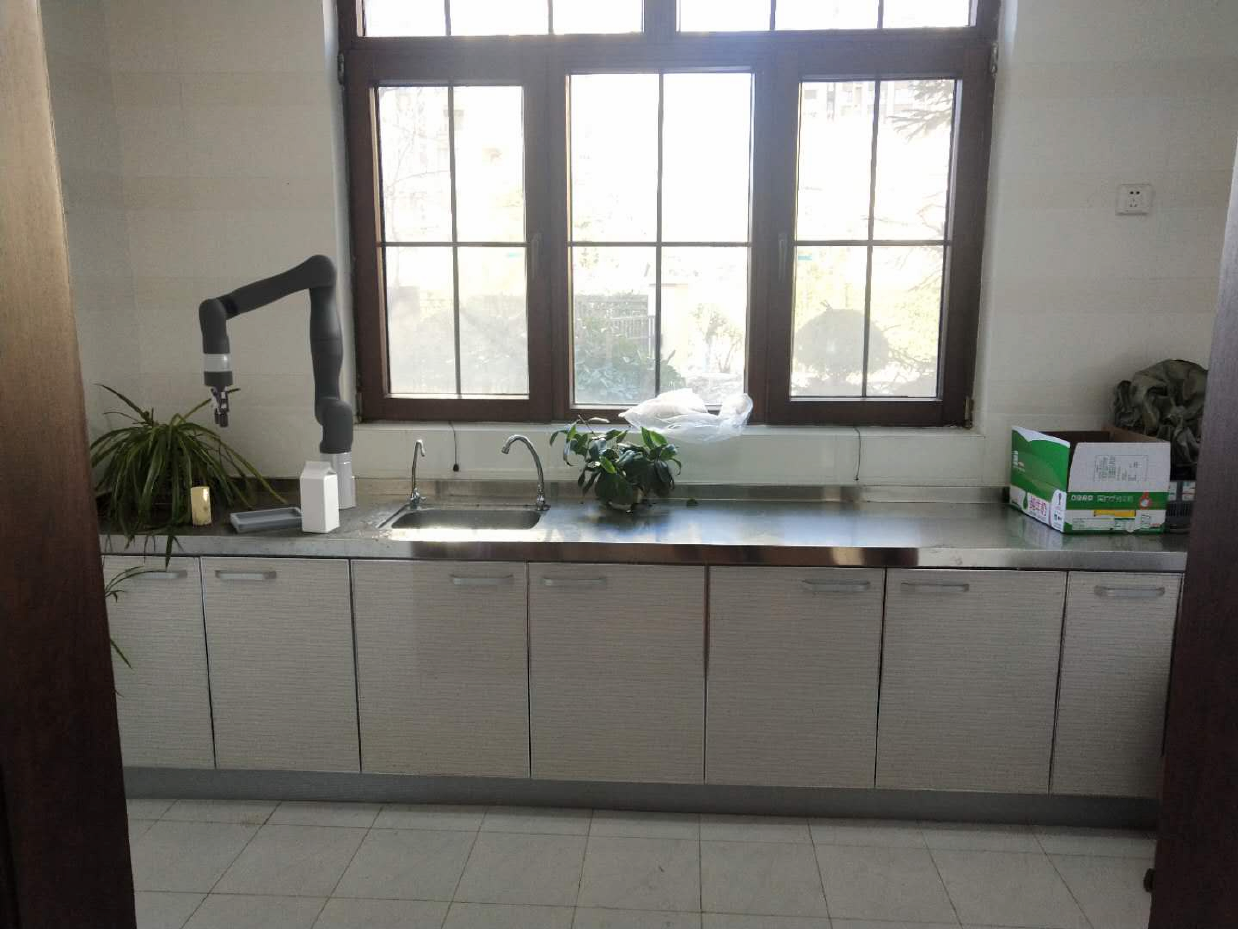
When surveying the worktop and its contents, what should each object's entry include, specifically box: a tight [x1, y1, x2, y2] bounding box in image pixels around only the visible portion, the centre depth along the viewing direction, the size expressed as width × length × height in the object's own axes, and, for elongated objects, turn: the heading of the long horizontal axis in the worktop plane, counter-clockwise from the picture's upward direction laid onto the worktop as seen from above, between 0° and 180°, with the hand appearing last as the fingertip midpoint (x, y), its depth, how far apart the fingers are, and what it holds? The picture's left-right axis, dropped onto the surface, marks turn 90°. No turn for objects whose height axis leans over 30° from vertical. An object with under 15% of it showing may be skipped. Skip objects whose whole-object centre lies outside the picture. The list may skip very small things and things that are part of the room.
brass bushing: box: [190, 486, 212, 526], centre depth 237 cm, size 5×5×10 cm
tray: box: [229, 506, 302, 534], centre depth 238 cm, size 18×14×2 cm
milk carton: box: [299, 460, 340, 534], centre depth 232 cm, size 7×7×19 cm
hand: (221, 425), depth 246 cm, fingers open, 8 cm apart
